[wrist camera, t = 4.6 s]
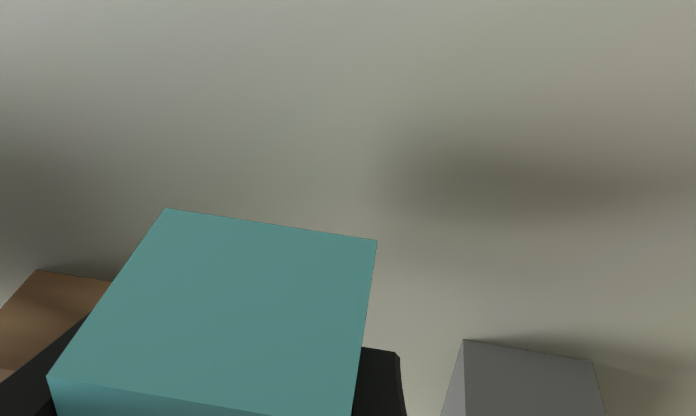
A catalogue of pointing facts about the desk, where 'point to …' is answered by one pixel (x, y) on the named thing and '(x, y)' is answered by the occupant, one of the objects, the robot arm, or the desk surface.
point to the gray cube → (520, 384)
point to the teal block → (223, 324)
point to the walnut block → (43, 314)
